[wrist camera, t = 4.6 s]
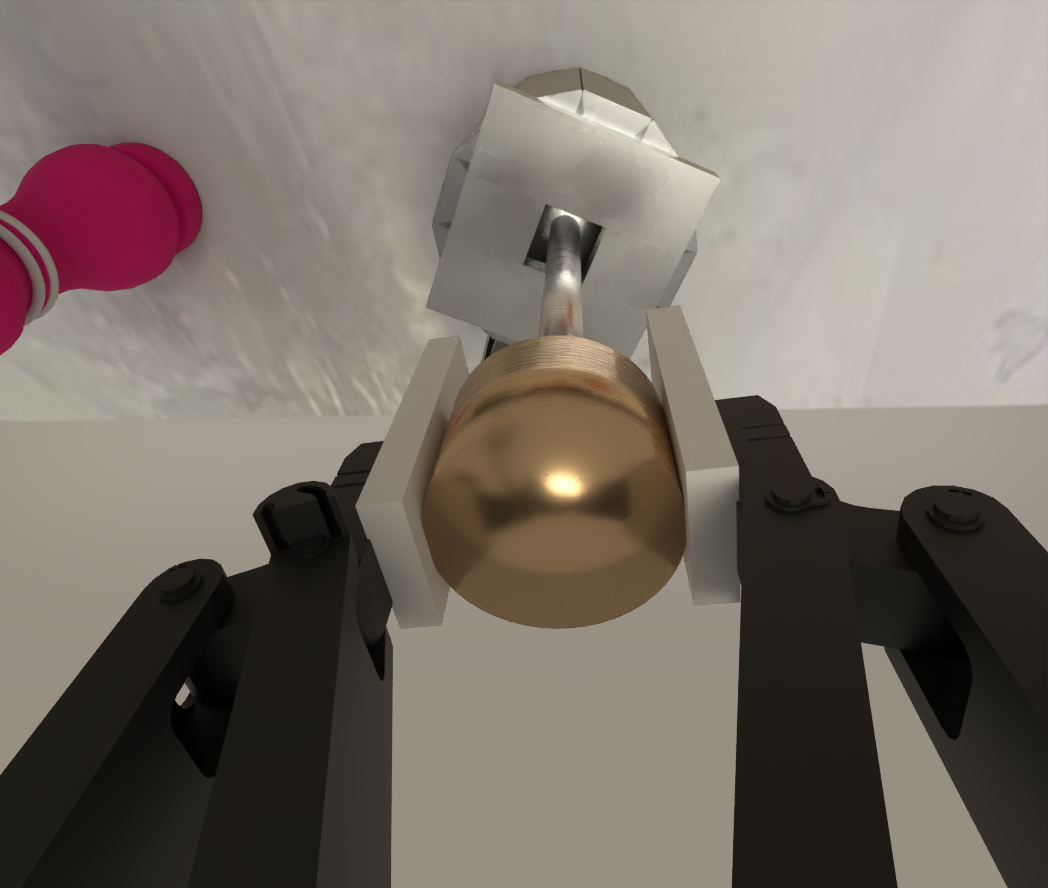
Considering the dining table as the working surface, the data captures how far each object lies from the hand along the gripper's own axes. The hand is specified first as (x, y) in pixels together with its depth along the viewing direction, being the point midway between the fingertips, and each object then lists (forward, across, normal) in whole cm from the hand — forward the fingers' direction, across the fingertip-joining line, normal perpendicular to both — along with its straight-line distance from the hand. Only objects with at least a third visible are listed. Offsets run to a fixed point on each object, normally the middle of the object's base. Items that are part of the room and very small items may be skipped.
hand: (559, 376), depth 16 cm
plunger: (+14, 0, 0) cm, 14 cm away
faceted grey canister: (+25, -1, -1) cm, 25 cm away
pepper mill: (+25, -24, +2) cm, 35 cm away
